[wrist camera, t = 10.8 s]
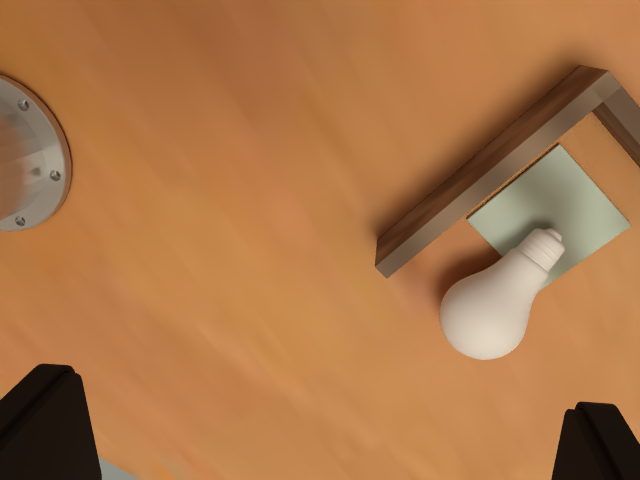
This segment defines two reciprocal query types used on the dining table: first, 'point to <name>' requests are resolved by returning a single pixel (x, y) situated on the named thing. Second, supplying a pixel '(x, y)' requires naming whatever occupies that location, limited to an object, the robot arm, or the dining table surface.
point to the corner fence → (529, 181)
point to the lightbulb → (499, 298)
